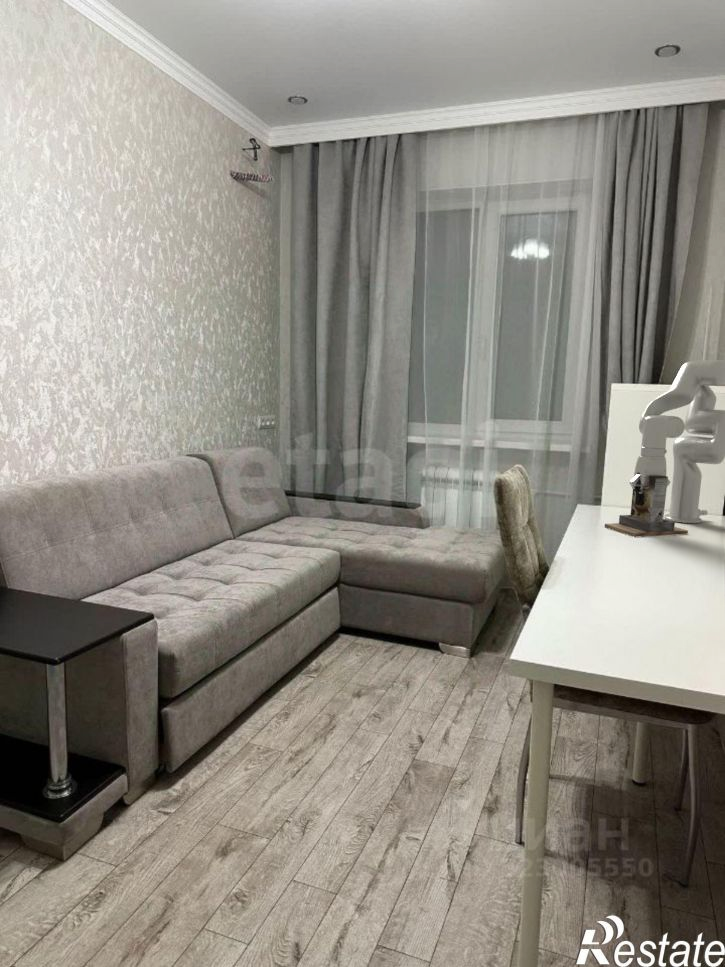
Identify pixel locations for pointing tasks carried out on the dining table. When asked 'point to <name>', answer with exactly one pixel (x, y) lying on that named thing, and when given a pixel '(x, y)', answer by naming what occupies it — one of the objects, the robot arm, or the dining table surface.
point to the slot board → (645, 527)
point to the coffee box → (651, 500)
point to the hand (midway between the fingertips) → (648, 504)
